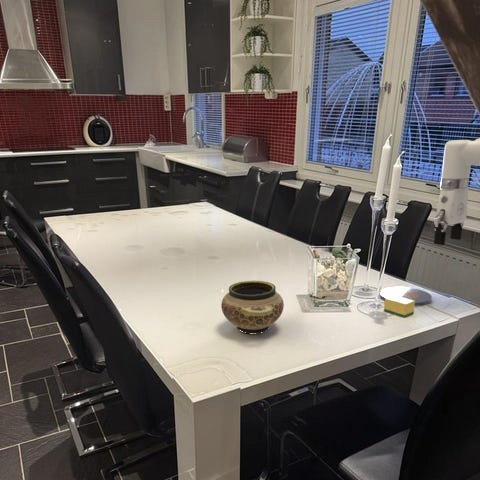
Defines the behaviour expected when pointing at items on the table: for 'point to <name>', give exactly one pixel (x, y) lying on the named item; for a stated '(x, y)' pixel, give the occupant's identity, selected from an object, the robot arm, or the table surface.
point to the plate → (407, 294)
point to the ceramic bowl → (252, 305)
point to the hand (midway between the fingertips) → (447, 241)
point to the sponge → (399, 306)
